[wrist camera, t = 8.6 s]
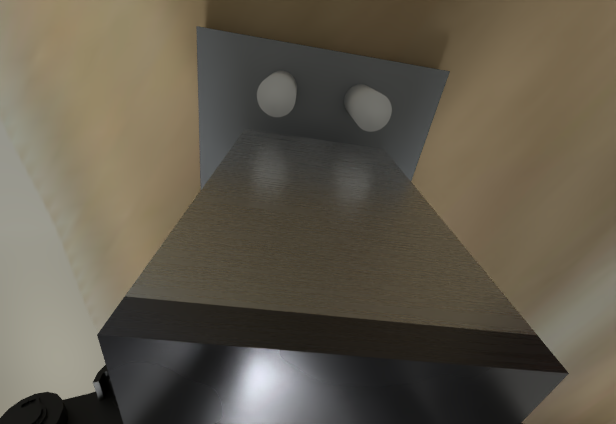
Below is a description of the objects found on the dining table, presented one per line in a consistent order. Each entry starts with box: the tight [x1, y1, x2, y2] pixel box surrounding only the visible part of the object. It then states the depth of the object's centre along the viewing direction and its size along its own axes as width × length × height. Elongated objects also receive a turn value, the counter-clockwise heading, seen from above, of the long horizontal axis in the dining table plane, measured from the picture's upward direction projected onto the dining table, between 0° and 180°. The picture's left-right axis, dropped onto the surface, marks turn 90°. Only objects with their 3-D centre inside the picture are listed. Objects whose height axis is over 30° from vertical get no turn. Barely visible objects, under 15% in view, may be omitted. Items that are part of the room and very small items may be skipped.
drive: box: [97, 129, 569, 424], centre depth 11 cm, size 12×6×10 cm, turn 171°
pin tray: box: [197, 26, 450, 189], centre depth 16 cm, size 19×11×4 cm, turn 171°
